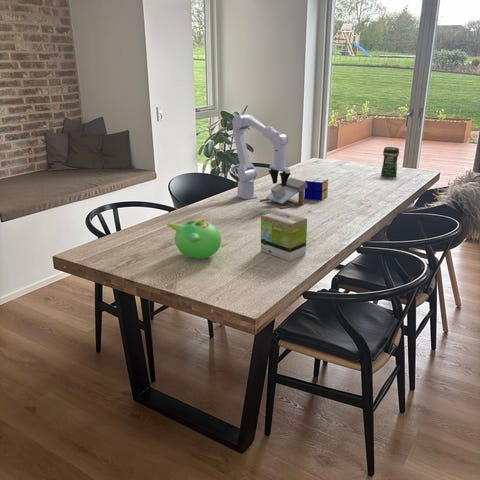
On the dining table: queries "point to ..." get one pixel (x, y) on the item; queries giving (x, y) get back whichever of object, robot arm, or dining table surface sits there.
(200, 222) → the toy bird
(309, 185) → the puzzle cube
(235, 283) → the dining table surface
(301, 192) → the frame
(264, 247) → the tea box
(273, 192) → the grey cube
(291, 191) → the trapdoor
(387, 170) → the coffee jar
